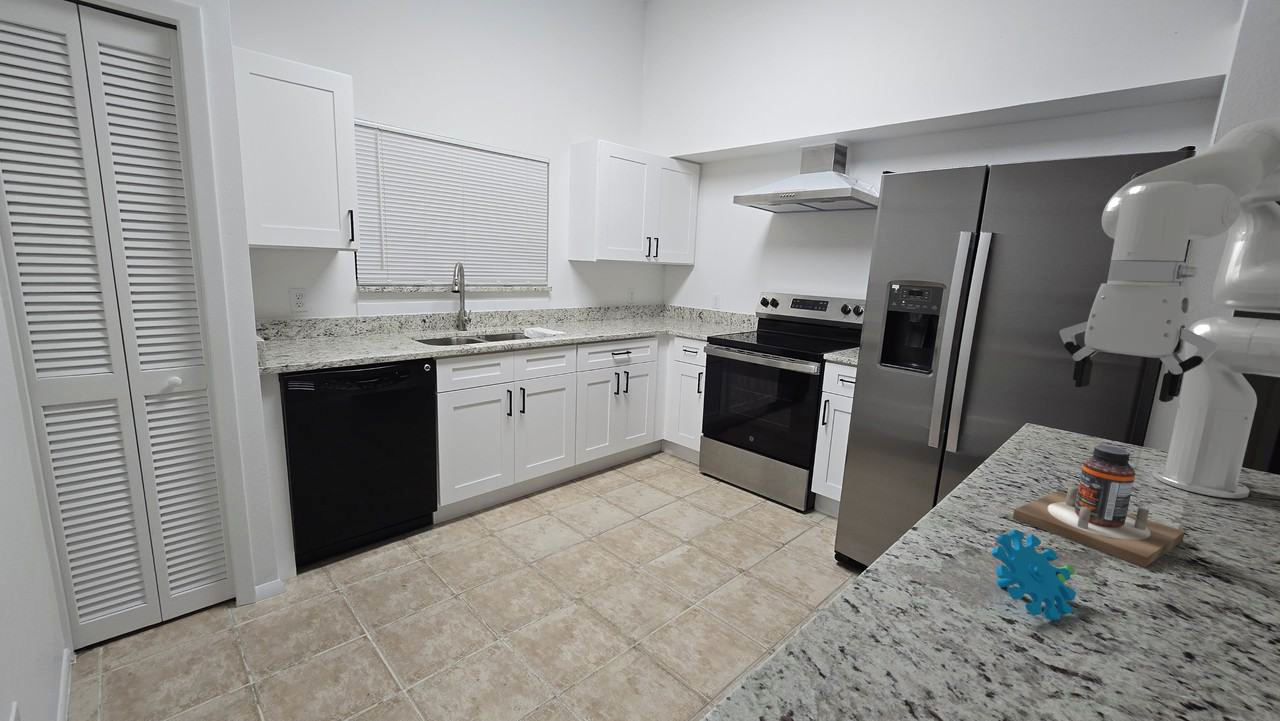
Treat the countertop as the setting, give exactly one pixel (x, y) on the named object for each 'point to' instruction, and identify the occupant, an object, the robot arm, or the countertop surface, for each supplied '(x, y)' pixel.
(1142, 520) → the pin board
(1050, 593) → the gear
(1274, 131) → the robot arm
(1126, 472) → the supplement bottle
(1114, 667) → the countertop surface
